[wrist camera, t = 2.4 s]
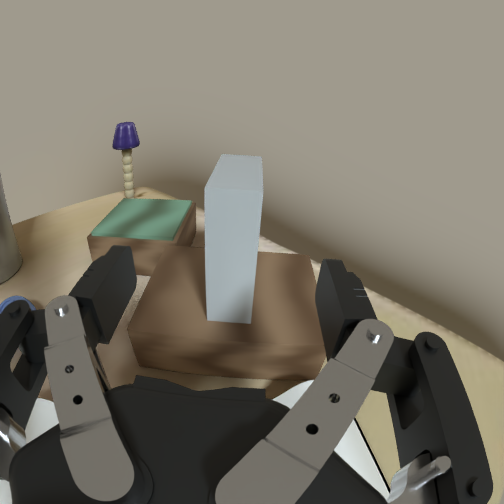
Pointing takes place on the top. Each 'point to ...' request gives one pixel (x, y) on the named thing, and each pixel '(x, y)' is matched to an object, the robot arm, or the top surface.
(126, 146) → the toy lamp
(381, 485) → the white corrugated sheet
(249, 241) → the block
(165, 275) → the brown wooden flat slab
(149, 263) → the plinth
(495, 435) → the top surface
